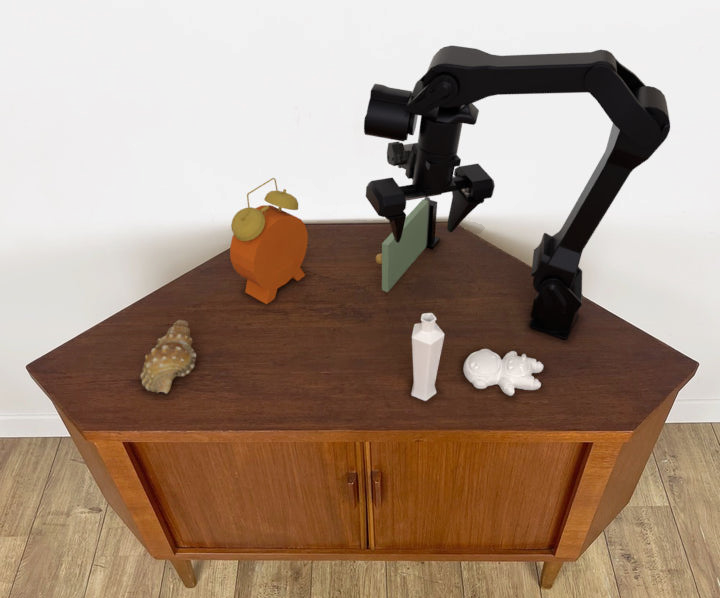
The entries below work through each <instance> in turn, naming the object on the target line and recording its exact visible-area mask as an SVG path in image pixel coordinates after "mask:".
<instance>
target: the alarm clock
mask: <svg viewBox="0 0 720 598" xmlns="http://www.w3.org/2000/svg"><path fill="white" fill-rule="evenodd" d="M273 180H274V186H275V190H271V191H269V192H267V193H266V194H265V196H264V201H265V202H266V203H267V204H268V205H267V204H266V205H265V204H263V205H259V206H257V207H251V206H250V199H249V195H250V194H252V193H254V192H255V191H257V190H258V189H260V188H261V187H263V186H265V185H266V184H268V183H270V182H271V181H273ZM246 201H247V207H245V208H242V209H240V210H238V211H237V212H236V213H235V214H234V216H233V218H232V220H231V226H230V227H231V232H232V234H233V235H232V237H231V241H230V242H231V243H230V247H229V255H230V258H229V259H230V261H231V264H232V267H233V269H234V271H235V272H236V273H237V274H238V275H239V276H241V277H243V278H245V280H246V284H245V285H246V286H245V289H244V290H245V292H244V293H245V294H247V295H249V296H251V297H253V298H254V299H256V300H258V301H260V302H261V303H263V304H265V305H268V304H269V303H271V302H272V301H273V300H274V299H276V295H277V292H278V289H279V288H281V287H282V286H284V285H287V283H288V282H290V280H291V279H293V281H294V280H295V281H296V282H299V281H300V280H301V279H302V278H304V277H306V274H305V272H304V271H303V269H302V267H301V265H302V264H303V262H304V259H305V257H306V254H307V250H308V240H309V234H308V230H307V226H306V224H305V223H304V221H303V220H302V219H301V218H299V217H297V216H295V215H293V214H291V213H289V212H287V211H285V210H282V209H286V210H291V211H297V210H299V202H298V199H297V197H295V196H294V195H292V194H290V193H288V192H287V189H285V188H283V191H281V190H278V184H277V179H276V178H275V177H272V178H270V179H269V180H267V181H265V182H264V183H262V184H260V185H259V186H257V187H256V188H254V189H252V190H250V191H249V192H247V194H246Z"/></svg>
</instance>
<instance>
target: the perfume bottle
mask: <svg viewBox="0 0 720 598" xmlns="http://www.w3.org/2000/svg"><path fill="white" fill-rule="evenodd" d="M420 316H421V317H420V321H421V322H418V323H414V325H413V330H412V334H411V353H412V375H413V383H412V388H411V392H410V395H411V396H412V397H414V398H416V399H419V400H422V401H424V402H427V401H428V400H429V399H431V398H432V397H433V396H435V395H436V394H437V392H438V391H437V389H436V379H437V376H438V375H437V374H438V369H439V365H440V359H441V355H442V350H443V346H444V345H443V344H444V340H445V335H446V334H445V333H444V331H443V330H442V329H441V327H440V326H439V325H438V324H437V322H436V321H437V319H438V318H437V317H436V316H435V314H434V313H433V312H425V313H421V315H420Z"/></svg>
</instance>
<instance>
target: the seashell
mask: <svg viewBox="0 0 720 598" xmlns="http://www.w3.org/2000/svg"><path fill="white" fill-rule="evenodd" d="M190 334H191V330H190V327H189V323H188V321H186V320H182V319H177V321H175V322H174V323H173V325H172V326H171V327H169V329H168V330H167V332H166V334H165V335H164V336H162V337H158V339H157V341H156V345H155V347H153V348H152V349H151V350H150V352H149V353H146V355H145V356H144V358H145V361H144V362H143V366H142V370H141V373H140V380H141V385H142V386H143V388H145V389H146V391H148V392H152V393H156V394H159V393H164V394H165V395H166V394H168V393H169V392H170V391H171V387H172V386H173V381H174V380H175V378H176V377H178V378H179V377H185V376H187V375H189V374H190V373H191V372H192V370H193V369H194V368H195V364H196V360H197V353H196V351H195V350H194V349H193V347H192V345H193V338H192V337H191V335H190Z"/></svg>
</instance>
